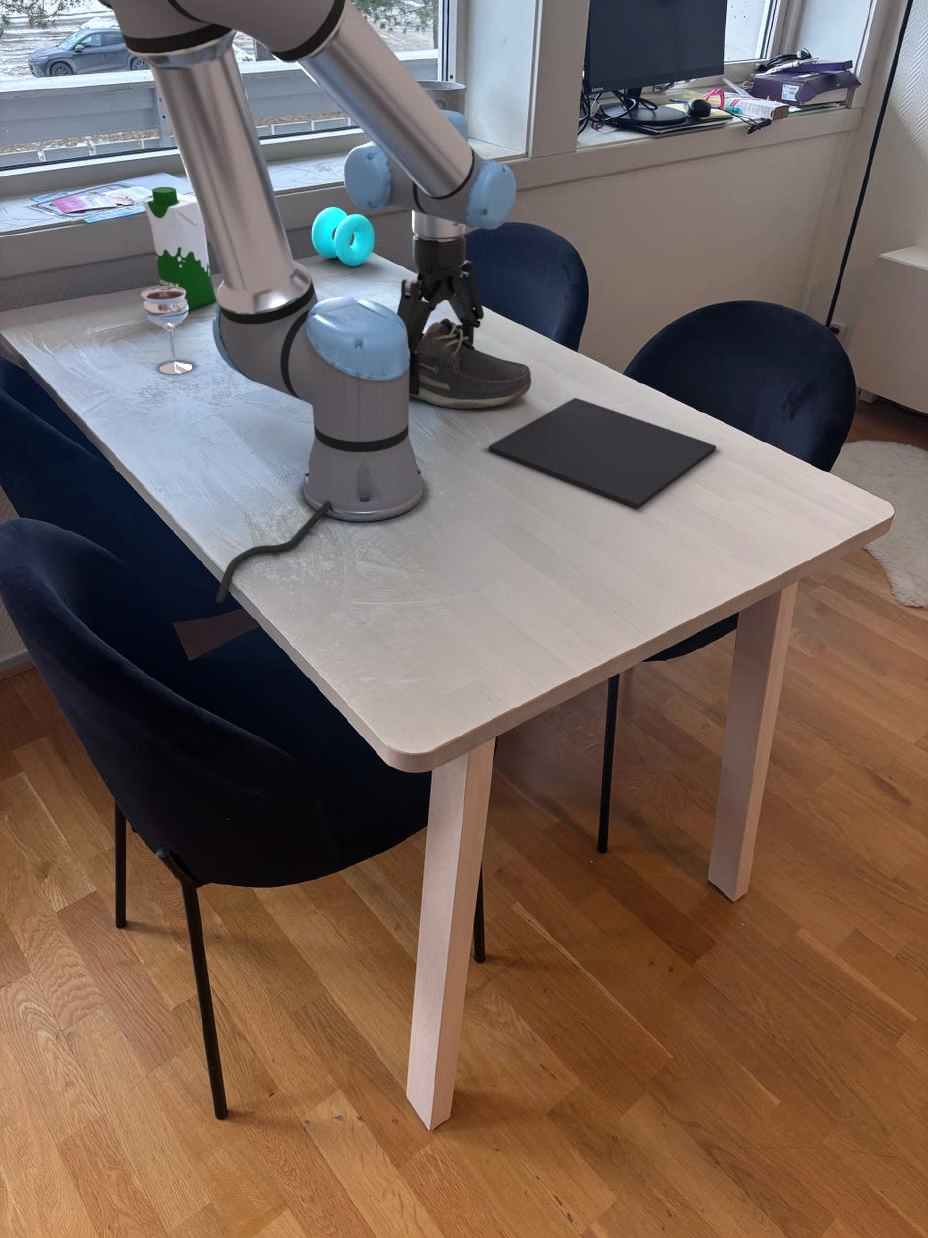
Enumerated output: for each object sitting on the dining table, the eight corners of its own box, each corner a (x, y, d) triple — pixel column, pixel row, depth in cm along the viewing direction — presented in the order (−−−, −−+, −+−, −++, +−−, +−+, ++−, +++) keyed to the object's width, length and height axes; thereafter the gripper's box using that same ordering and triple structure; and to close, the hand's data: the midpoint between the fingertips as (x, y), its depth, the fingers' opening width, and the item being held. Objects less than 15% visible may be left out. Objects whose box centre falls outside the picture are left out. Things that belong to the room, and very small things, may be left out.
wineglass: (145, 373, 151) (132, 297, 144) (166, 357, 156) (154, 283, 149) (185, 378, 150) (173, 302, 143) (204, 362, 155) (194, 288, 148)
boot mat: (637, 509, 122) (637, 504, 122) (488, 451, 134) (488, 445, 133) (715, 450, 136) (716, 445, 136) (574, 402, 148) (575, 397, 147)
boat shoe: (523, 418, 142) (528, 349, 136) (335, 396, 146) (331, 327, 140) (533, 389, 151) (539, 323, 145) (355, 369, 155) (353, 303, 149)
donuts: (342, 271, 195) (339, 220, 189) (310, 260, 200) (307, 210, 194) (378, 262, 201) (377, 212, 195) (346, 251, 206) (344, 202, 200)
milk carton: (154, 303, 176) (135, 187, 164) (189, 290, 183) (174, 178, 171) (188, 313, 173) (172, 196, 161) (223, 300, 179) (210, 186, 167)
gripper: (402, 259, 125) (404, 411, 138) (511, 222, 140) (504, 362, 154) (360, 247, 129) (366, 397, 142) (471, 212, 144) (467, 350, 157)
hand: (437, 379), depth 148 cm, fingers closed on boat shoe, 12 cm apart
